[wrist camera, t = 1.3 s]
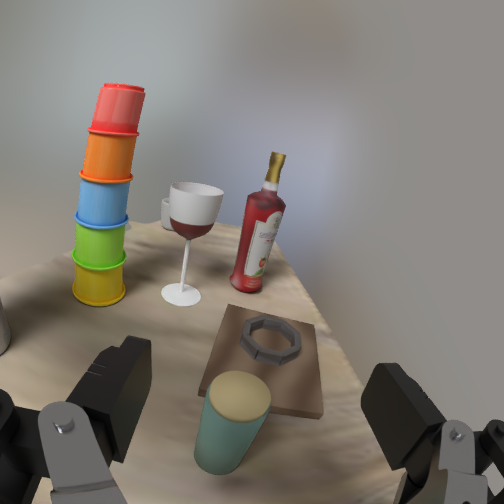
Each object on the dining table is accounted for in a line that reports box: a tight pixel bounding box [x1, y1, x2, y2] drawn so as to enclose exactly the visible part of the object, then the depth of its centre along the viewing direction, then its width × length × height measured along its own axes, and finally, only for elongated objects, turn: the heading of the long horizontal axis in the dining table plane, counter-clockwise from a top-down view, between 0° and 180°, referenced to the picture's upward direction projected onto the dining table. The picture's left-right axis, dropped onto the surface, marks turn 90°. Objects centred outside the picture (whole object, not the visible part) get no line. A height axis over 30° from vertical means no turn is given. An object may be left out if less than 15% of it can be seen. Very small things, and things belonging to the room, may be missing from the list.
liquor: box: [230, 152, 286, 293], centre depth 53 cm, size 7×7×28 cm
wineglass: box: [161, 182, 224, 306], centre depth 47 cm, size 8×9×20 cm
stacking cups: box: [72, 83, 145, 306], centre depth 38 cm, size 10×10×35 cm
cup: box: [161, 198, 174, 230], centre depth 79 cm, size 11×8×8 cm
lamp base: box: [198, 304, 323, 419], centre depth 40 cm, size 16×20×4 cm
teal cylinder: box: [194, 371, 271, 475], centre depth 21 cm, size 5×5×13 cm
